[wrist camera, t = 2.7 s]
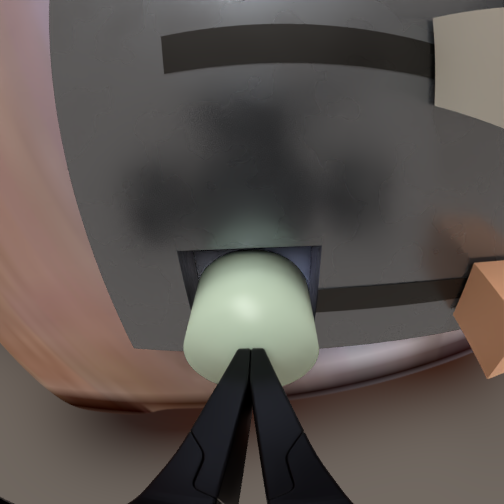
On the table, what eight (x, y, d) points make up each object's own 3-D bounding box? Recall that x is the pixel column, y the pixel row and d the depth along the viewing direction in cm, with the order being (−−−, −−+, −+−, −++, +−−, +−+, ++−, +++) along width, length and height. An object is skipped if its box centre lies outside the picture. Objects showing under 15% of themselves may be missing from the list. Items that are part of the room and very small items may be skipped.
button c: (311, 246, 11) (325, 304, 8) (305, 331, 13) (312, 388, 10) (188, 251, 11) (168, 308, 8) (206, 333, 13) (197, 389, 11)
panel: (529, 30, 6) (557, 33, 4) (482, 299, 14) (497, 321, 12) (78, -3, 6) (49, -11, 5) (144, 320, 15) (133, 349, 13)
